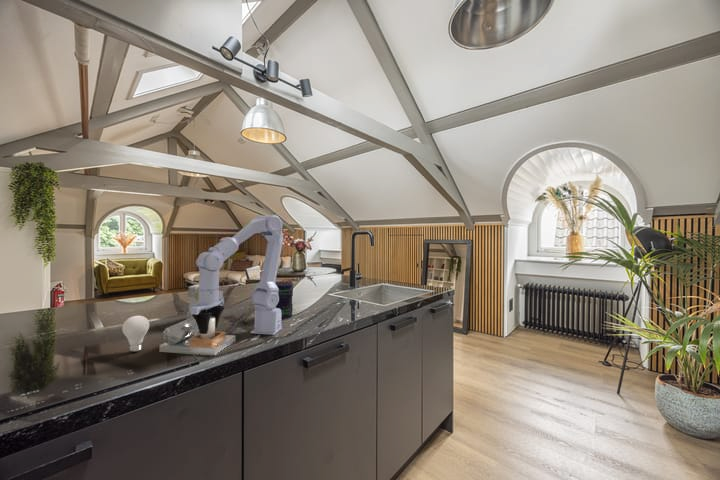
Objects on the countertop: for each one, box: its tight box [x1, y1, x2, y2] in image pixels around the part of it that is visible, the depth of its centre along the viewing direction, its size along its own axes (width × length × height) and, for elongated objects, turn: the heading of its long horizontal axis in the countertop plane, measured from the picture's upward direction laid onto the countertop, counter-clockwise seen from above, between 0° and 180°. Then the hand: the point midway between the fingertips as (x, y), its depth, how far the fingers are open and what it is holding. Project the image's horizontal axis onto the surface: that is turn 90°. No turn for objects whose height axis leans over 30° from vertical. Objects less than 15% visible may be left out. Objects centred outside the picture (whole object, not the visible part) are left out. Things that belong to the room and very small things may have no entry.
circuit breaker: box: [186, 283, 224, 320], centre depth 124 cm, size 8×14×15 cm, turn 174°
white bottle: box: [200, 316, 216, 339], centre depth 95 cm, size 4×4×7 cm
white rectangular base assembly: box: [158, 317, 237, 356], centre depth 95 cm, size 18×12×8 cm, turn 84°
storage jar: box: [275, 281, 294, 321], centre depth 131 cm, size 10×10×15 cm
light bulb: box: [121, 315, 150, 353], centre depth 90 cm, size 7×7×11 cm
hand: (208, 331), depth 95 cm, fingers closed on white bottle, 4 cm apart
